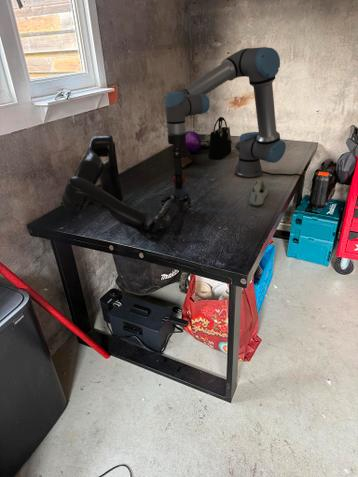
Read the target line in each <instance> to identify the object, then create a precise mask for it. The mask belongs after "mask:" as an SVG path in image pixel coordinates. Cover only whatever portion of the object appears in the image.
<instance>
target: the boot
mask: <svg viewBox="0 0 358 477" xmlns="http://www.w3.org/2000/svg"><path fill="white" fill-rule="evenodd" d="M181 146H182V158H181V160H182V167H183V168H185V167H186V166H187V165H188V164H190V163H192V162H193V159H194V158H193V155H192V153H190V152H188V150H187V146H186V142H185V143H184V144H181Z"/></svg>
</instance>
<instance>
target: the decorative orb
mask: <svg viewBox="0 0 358 477" xmlns="http://www.w3.org/2000/svg"><path fill="white" fill-rule="evenodd" d="M185 134H186V146H187V150H188V152H190V153H191V154H194V153H196V152H197V151H198V150H199V149H200V145H201V140H202V139H201V137H200V135H199V134H198V133H197V132H195V131H192V130H186V132H185Z"/></svg>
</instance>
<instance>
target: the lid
mask: <svg viewBox="0 0 358 477" xmlns="http://www.w3.org/2000/svg"><path fill="white" fill-rule="evenodd" d="M172 182H173V184H174V183H176V178H175V175H173V176H172ZM183 182H186V175H184V174H182V183H183Z"/></svg>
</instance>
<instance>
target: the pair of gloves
mask: <svg viewBox="0 0 358 477" xmlns="http://www.w3.org/2000/svg"><path fill="white" fill-rule="evenodd" d="M232 143H233V140H231V144H232ZM209 145H210V135H208V134H205V135H204V139H201V145H200V148H205V147H208V148H209ZM200 148H199V149H200Z"/></svg>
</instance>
